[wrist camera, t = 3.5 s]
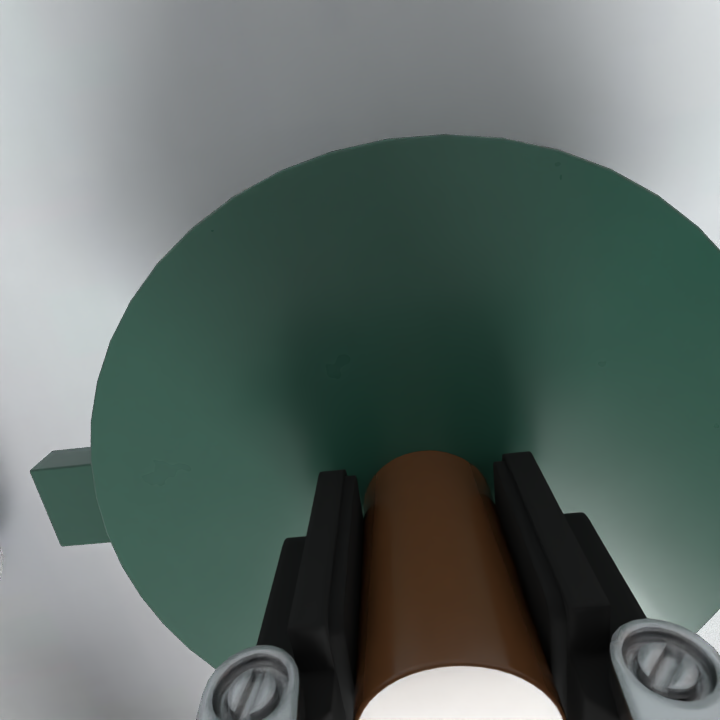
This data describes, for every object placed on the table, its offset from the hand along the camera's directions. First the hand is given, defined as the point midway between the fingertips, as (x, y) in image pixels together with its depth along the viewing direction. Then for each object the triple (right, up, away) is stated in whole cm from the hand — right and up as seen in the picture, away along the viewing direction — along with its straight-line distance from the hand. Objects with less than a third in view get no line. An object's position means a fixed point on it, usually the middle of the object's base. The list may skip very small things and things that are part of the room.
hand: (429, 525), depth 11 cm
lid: (0, 0, +1) cm, 1 cm away
